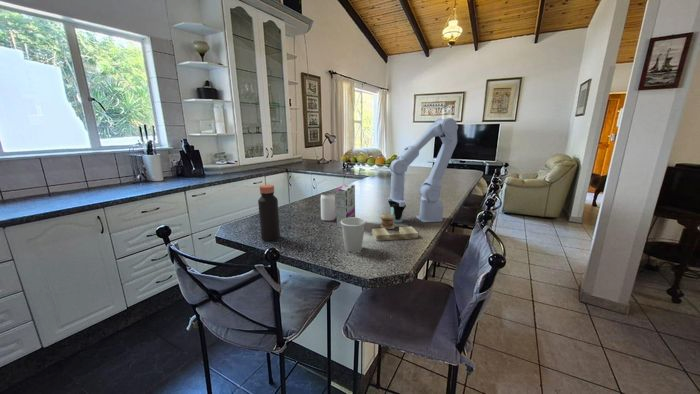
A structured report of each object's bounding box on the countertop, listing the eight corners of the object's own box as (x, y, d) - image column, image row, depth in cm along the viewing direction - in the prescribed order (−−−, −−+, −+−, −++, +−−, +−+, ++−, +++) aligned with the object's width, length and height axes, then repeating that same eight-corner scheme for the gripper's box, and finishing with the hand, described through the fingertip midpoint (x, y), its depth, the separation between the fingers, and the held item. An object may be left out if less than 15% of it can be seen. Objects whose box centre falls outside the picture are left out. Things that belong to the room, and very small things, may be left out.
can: (333, 221, 121) (332, 195, 118) (319, 220, 122) (318, 194, 119) (336, 217, 127) (336, 192, 124) (323, 216, 128) (322, 191, 125)
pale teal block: (398, 219, 124) (399, 206, 122) (401, 222, 120) (402, 209, 118) (390, 219, 123) (390, 206, 122) (393, 222, 119) (393, 209, 118)
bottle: (257, 240, 101) (252, 187, 96) (269, 233, 107) (265, 183, 102) (272, 243, 99) (268, 188, 94) (283, 236, 105) (280, 185, 100)
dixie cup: (356, 241, 99) (356, 215, 97) (370, 250, 92) (370, 222, 90) (336, 247, 95) (335, 219, 92) (349, 256, 88) (349, 227, 86)
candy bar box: (344, 219, 124) (344, 183, 120) (355, 220, 122) (355, 184, 118) (335, 227, 113) (335, 189, 109) (347, 229, 112) (346, 190, 108)
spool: (392, 224, 117) (392, 213, 116) (396, 229, 112) (397, 217, 110) (378, 225, 116) (378, 213, 115) (382, 230, 111) (382, 218, 109)
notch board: (411, 231, 109) (411, 226, 109) (417, 237, 103) (418, 232, 102) (371, 233, 107) (372, 228, 107) (376, 240, 100) (376, 235, 100)
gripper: (383, 184, 124) (383, 213, 128) (393, 191, 110) (392, 223, 114) (398, 184, 125) (397, 212, 129) (410, 191, 111) (408, 222, 115)
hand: (396, 217), depth 121 cm, fingers closed on pale teal block, 4 cm apart
